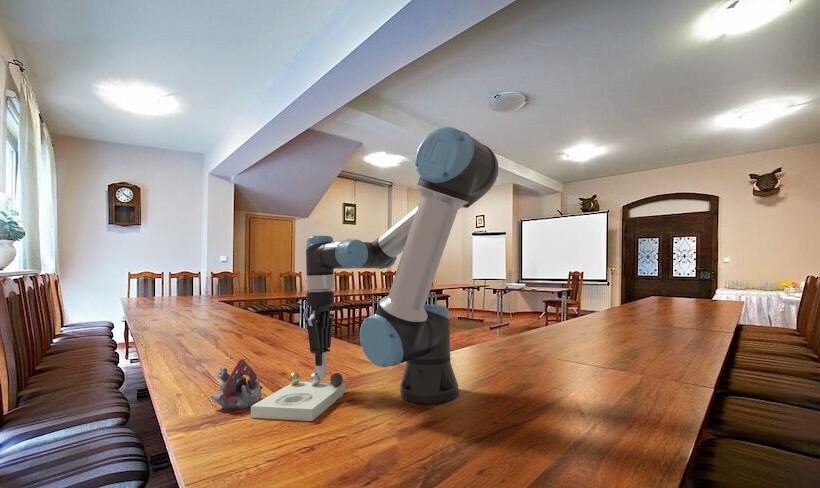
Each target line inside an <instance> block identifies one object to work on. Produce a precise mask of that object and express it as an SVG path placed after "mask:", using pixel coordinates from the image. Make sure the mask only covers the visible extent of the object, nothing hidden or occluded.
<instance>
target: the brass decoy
mask: <svg viewBox="0 0 820 488" xmlns="http://www.w3.org/2000/svg"><path fill="white" fill-rule="evenodd" d="M301 380H302V375H301V373H299V372H298V371H293V372H292V373H290V375H289V376H288V382H289V384H293V385H295V384H298V383H299V382H301Z"/></svg>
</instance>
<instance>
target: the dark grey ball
mask: <svg viewBox="0 0 820 488" xmlns="http://www.w3.org/2000/svg"><path fill="white" fill-rule="evenodd" d="M329 383H331V384H332V385H334V386H339V385H340V384H341V383H343V375H342V374H341V373H338V372H336V373H333V374H332V375H331V376H330V382H329Z"/></svg>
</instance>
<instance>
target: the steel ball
mask: <svg viewBox="0 0 820 488" xmlns="http://www.w3.org/2000/svg"><path fill="white" fill-rule="evenodd" d="M308 382H310V383H311V384H312V385H318V384H319V383H320V382H322V377H321V375H320V374H319V373H315V372H313V373H311V375H310V376H309V378H308Z"/></svg>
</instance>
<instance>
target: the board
mask: <svg viewBox="0 0 820 488" xmlns="http://www.w3.org/2000/svg"><path fill="white" fill-rule="evenodd" d="M346 388H347V385H346V383H345V382H342V383H341V384H340V385H339V386H334V385H332V384H331V382H328V381H327V382H323V381H321V382H320V383H319V384H318V385H312V384H311V383H310V381H300V382H299V383H298V384H295V385H293V384H291V383H289V384H287V385H285V386H284V387H282V388H281V389H279V390H277V391H274V392H273V393H272V394H269V395H268V396H267V397H264V398H263V399H260V400H259V401H258V402H257V403H255V404H253V405H251V406H250V418H251V419H252V418H253V419H268V420H284V421H285V420H287V421H299V422H300V421H303V422H304V421H305V422H313V421H314V420H315V419H317V418H318V417H319V416H320V415H321V414H323V413H324V412H325V411H326V410H327V409H328V408H330V406H332V405H333V404H334V403H335V402H336V400H337V399H338V398H339V399H340V398H341V397H342V396H344V395H345V394H346V393H345V392H347V391H346ZM344 393H345V394H344ZM343 394H344V395H343ZM339 399H338V400H339Z"/></svg>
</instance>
